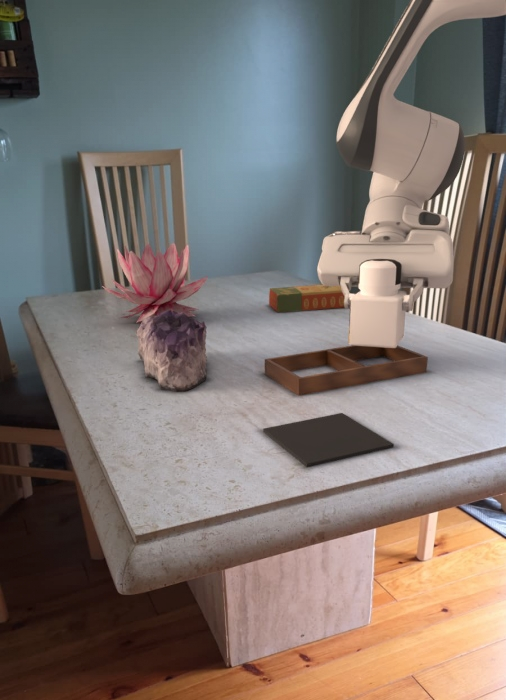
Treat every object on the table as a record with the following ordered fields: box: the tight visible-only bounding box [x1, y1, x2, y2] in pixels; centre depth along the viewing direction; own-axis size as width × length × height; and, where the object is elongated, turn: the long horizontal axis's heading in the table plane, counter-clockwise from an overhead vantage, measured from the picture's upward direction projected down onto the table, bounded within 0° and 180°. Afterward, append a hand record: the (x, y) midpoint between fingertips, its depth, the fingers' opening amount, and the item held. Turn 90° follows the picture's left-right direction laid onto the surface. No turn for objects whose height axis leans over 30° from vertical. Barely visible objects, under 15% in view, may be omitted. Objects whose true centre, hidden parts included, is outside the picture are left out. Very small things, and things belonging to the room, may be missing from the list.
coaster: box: [262, 412, 395, 468], centre depth 72 cm, size 11×11×1 cm
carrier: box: [264, 344, 429, 396], centre depth 94 cm, size 22×11×2 cm, turn 114°
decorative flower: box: [101, 242, 209, 324], centre depth 130 cm, size 21×21×15 cm
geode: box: [136, 310, 208, 393], centre depth 96 cm, size 20×12×10 cm, turn 14°
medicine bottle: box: [348, 259, 408, 348], centre depth 92 cm, size 7×7×12 cm
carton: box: [268, 284, 345, 314], centre depth 139 cm, size 8×16×4 cm, turn 100°
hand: (377, 307), depth 92 cm, fingers closed on medicine bottle, 7 cm apart
